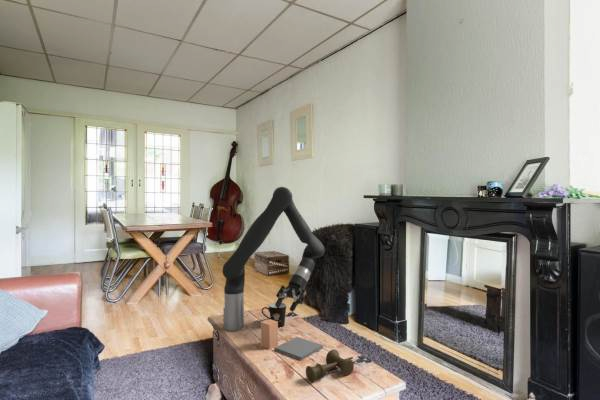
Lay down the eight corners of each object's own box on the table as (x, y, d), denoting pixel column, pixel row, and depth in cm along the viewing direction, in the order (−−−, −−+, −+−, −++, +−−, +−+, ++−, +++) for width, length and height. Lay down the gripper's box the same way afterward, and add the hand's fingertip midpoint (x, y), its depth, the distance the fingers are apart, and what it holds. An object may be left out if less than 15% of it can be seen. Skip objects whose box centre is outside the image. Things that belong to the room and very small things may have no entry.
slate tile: (274, 350, 138) (274, 347, 138) (297, 339, 148) (297, 336, 148) (301, 360, 129) (301, 357, 129) (322, 347, 139) (322, 345, 139)
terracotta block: (261, 346, 142) (260, 322, 142) (269, 342, 146) (269, 319, 146) (269, 349, 139) (269, 325, 139) (278, 345, 143) (277, 321, 143)
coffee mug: (290, 324, 167) (289, 304, 167) (279, 329, 160) (279, 308, 160) (271, 320, 173) (271, 300, 173) (260, 325, 166) (260, 305, 166)
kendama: (300, 377, 118) (344, 360, 129) (317, 390, 110) (362, 371, 121) (300, 360, 117) (344, 344, 128) (316, 372, 109) (362, 354, 120)
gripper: (284, 271, 161) (268, 301, 152) (308, 275, 152) (291, 307, 143) (292, 280, 165) (276, 310, 156) (315, 285, 156) (300, 316, 147)
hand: (283, 308), depth 149 cm, fingers open, 8 cm apart
